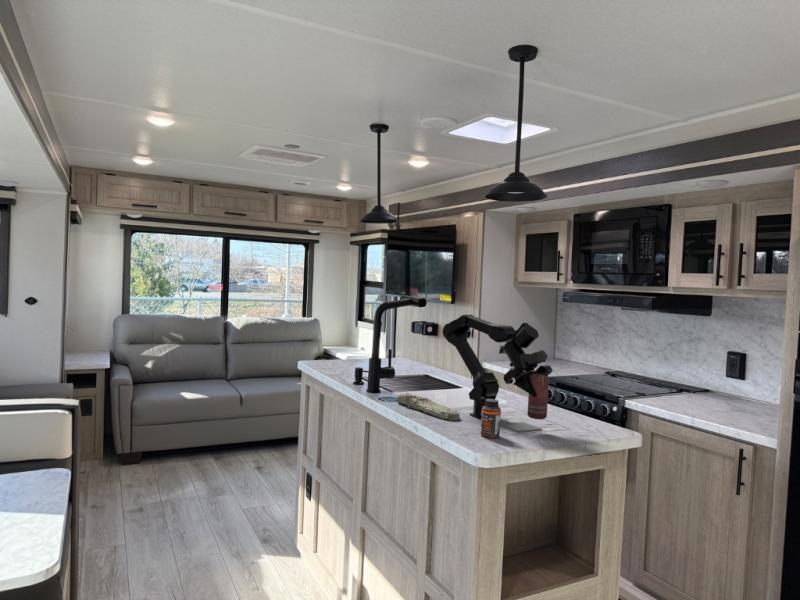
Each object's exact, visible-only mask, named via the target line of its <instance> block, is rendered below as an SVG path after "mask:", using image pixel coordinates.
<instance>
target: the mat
mask: <svg viewBox="0 0 800 600" xmlns="http://www.w3.org/2000/svg"><path fill="white" fill-rule="evenodd" d="M500 427H502V428H503V427H504V428H506V429H508V430H511V431H513V432H516V433H525V432H524V431H527V432H535V431H534V430H538V431H543V428H541V427H537V426H536V425H532V424H530V423H527V422H525V421H515V422H506V423H501V422H500Z"/></svg>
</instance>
